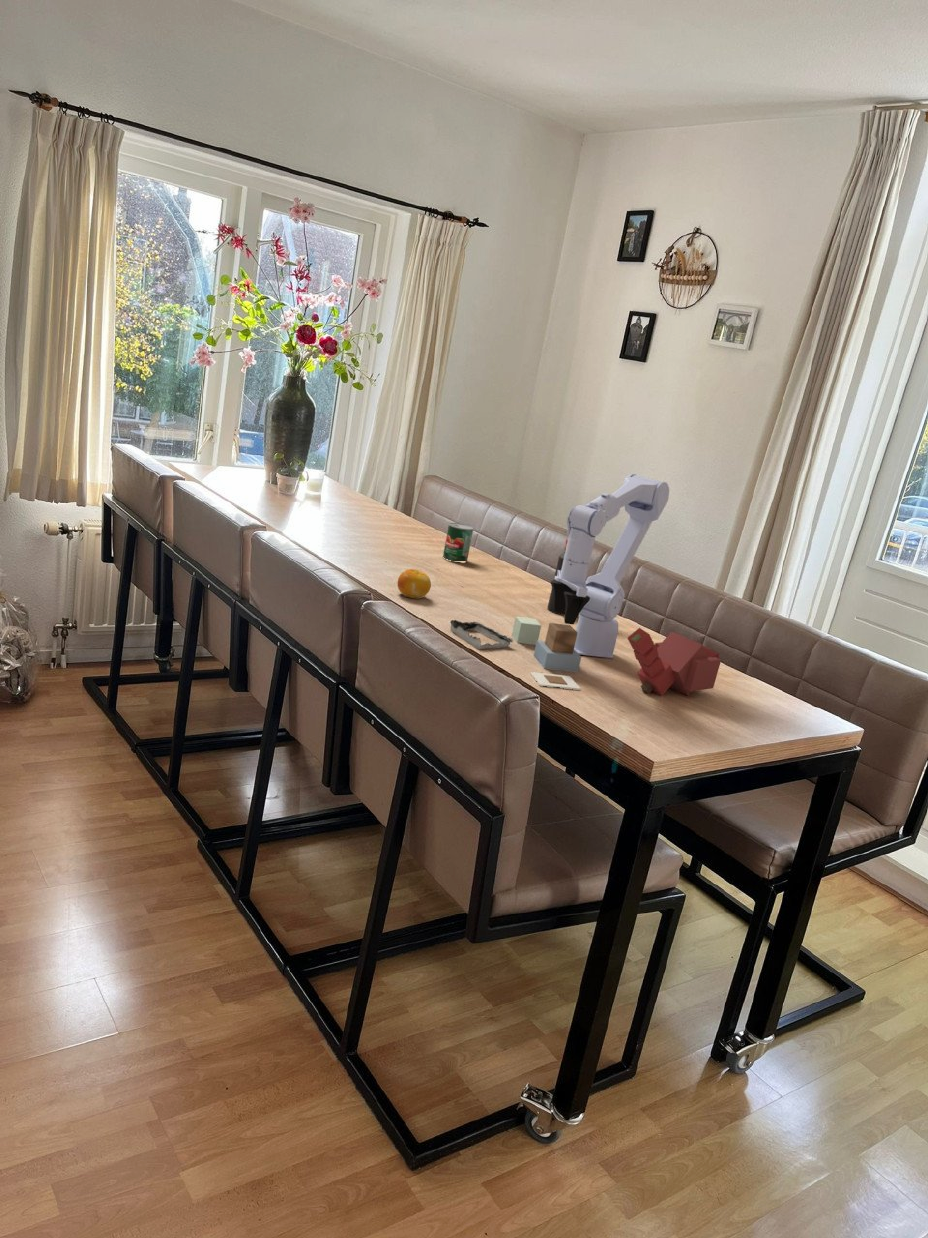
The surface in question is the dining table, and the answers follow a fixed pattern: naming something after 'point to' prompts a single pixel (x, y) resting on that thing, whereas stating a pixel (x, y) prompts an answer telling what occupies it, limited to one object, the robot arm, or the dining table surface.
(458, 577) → the dining table surface
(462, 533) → the canned tomato
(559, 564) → the bottle
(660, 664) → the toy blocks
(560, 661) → the slate base block
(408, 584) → the fruit
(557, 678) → the card
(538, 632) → the sage block
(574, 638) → the walnut block
